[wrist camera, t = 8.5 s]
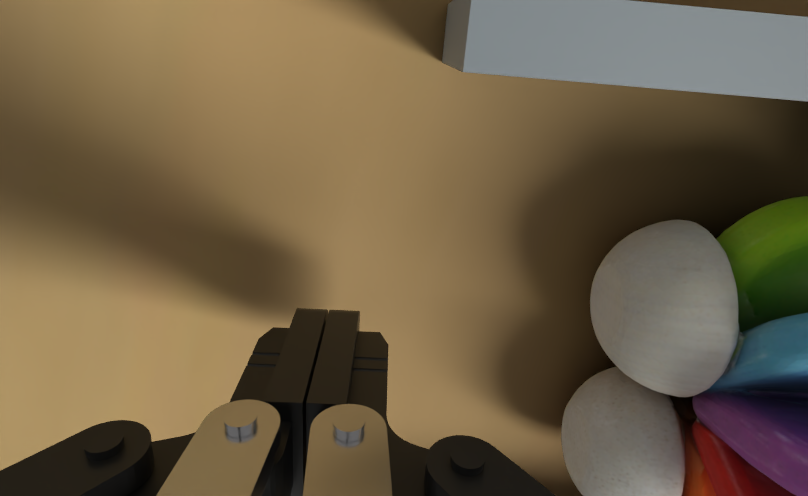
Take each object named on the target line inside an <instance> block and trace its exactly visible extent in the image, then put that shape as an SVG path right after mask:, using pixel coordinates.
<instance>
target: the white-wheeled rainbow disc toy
mask: <svg viewBox="0 0 808 496" xmlns="http://www.w3.org/2000/svg"><path fill="white" fill-rule="evenodd" d="M590 313H591V320H592V324H593V328H594V332H595V334H596V337H597V339H598V341H599V343H600V345H601V347H602V348H603V350H604V351H605V353H606V354H607V356H608V357H609V358H610V359H611V360H612V362H613V363H614V364H615V365H616V366H617V367H613V368H609V369H607V370H604V371H602V372H599V373H597V374H596V375H594V376H592V377H590V378H589V379H588V380H587V381H585V382H584V383H583V384H582V385H581V386H580V387H579V388H578V389H577V390H576V392H575V393H574V394H573V396H572V397H571V399H570V401H569V402H568V404H567V406H566V408H565V411H564V415H563V421H562V429H561V441H562V449H563V457H564V460H565V464H566V468H567V470H568V472H569V475H570V477H571V479H572V481H573V482H574V484H575V486H576V487H577V489H578V490H579V492H580V493H581V494H582V495H583V496H808V196H802V197H794V198H789V199H785V200H781V201H778V202H775V203H772V204H769V205H766V206H764V207H762V208H760V209H758V210H756V211H754V212H752V213H750V214H748V215H746V216H745V217H743V218H742V219H740V220H738V221H737V222H736V223H734V224H733V225H732V226H730V227H729V228H728V229H726V230H725V231H724V232H723V233H722V234H721V235H720V236H719V237H717V239H715V238H714V237H713V235H712V234H711V233H710V232H709V231H708V230H707V229H705V228H704V227H702V226H701V225H699V224H697V223H695V222H692V221H687V220H669V221H663V222H659V223H655V224H652V225H648V226H646V227H644V228H641V229H639V230H637V231H634V232H633V233H631V234H630V235H628V236H627V237H625V238H624V239H622V240H621V241H619V242H618V243H617V244H616V245H615V246H614V247H613V248H612V249H611V251H610V252H609V253H608V254H607V255H606V256H605V258H604V259H603V261H602V263H601V264H600V266H599V268H598V269H597V272H596V274H595V276H594V279H593V283H592V288H591V296H590Z"/></svg>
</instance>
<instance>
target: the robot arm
mask: <svg viewBox="0 0 808 496" xmlns="http://www.w3.org/2000/svg"><path fill="white" fill-rule="evenodd" d="M359 323H360V311H345V310H329V314H328V310H323V309H303V308H297V310H296V312H295V315H294V317H293V320H292V323H291V325H290V328H274V327H273V328H272V329H271V330H269V331H268V332H267V333H266V334H264V335H263V336H262V337H260V338H259V340H258V342H257V344H256V346H255V348H254V351H253V355H251V357H250V359H249V361H248V365H247V366H246V368H245V370H244V372H243V374H242V376H241V379H240V381H239V383H238V385H237V387H236V389H235V392H234V394H233V396H232V398H231V400H230V402H229V403H226V404H224V405H222V406H220V407H218V408H216V409H215V410H213V411H212V412H210V413H209V414H208V415H207V416H206V418H205V419H204V420H203V422H202V423H201V425H200V427H199V428H198V430H197V431H196V432H195V433H192V434H189V435H185V436H181V437H176V438H170V439H165V440H159V441H154V442H152V441H151V434H150V432H149V430H148V429H147V428H146V427H145V426H144V425H142V424H140V423H137V422H134V421H127V420H118V421H110V422H105V423H101V424H98V425H95V426H92V427H90V428H88V429H85V430H83V431H81V432H79V433H77V434H75V435H73V436H71V437H69V438H67V439H65V440H63V441H61V442H59V443H57V444H55V445H53V446H50V447H48V448H46V449H44V450H42V451H40V452H38V453H36V454H34V455H32V456H30V457H28V458H26V459H24V460H22V461H20V462H18V463H16V464H13V465H11V466H9V467H7V468H5V469H3V470H1V471H0V496H555V495H554V494H553V493H552V492H550V491H549V490H548V489H547V488H545V487H544V486H543V485H542V484H540V483H539V482H538V481H537V480H535V479H534V478H533V477H531V476H530V475H529V474H528V473H526V472H525V471H524V470H523V469H521V468H520V467H519V466H518V465H516V464H515V463H514V462H513V461H511V460H510V459H509V458H507V457H506V456H505V455H504V454H502V453H501V452H500V451H499V450H497V449H496V448H495V447H493V446H492V445H491V444H489V443H487V442H485V441H483V440H481V439H478V438H475V437H471V436H464V435H456V436H449V437H446V438H443V439H441V440H439V441H437V442H436V443H435V444H434V445H433V446H432V447H431V448H430V450H429V449H426V448H422V447H419V446H416V445H413V444H410V443H408V442H406V441H404V440H403V439H401V438H400V437H399V436H397V435H396V434H395V433H394V432H393V430H392V429H391V428H390V426H389V424H388V421H387V416H386V409H387V370H388V344H387V342H386V341H385V339H384V338H383V336H382V335H381V333H380V332H359Z"/></svg>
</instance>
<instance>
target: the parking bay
mask: <svg viewBox="0 0 808 496" xmlns="http://www.w3.org/2000/svg"><path fill="white" fill-rule="evenodd" d="M442 63H444V64H446V65H449V66H451V67H453V68H455V69H457V70H460V71H462V72H469V73H481V74H492V75H504V76H516V77H527V78H539V79H551V80H562V81H574V82H586V83H597V84H609V85H621V86H633V87H644V88H656V89H668V90H679V91H691V92H703V93H714V94H726V95H738V96H749V97H761V98H773V99H784V100H796V101H808V17H803V16H792V15H782V14H771V13H760V12H749V11H738V10H728V9H717V8H706V7H695V6H684V5H674V4H663V3H652V2H641V1H630V0H453V1H452V2H450V3H449V4H448V9H447V18H446V28H445V38H444V48H443V58H442Z"/></svg>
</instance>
